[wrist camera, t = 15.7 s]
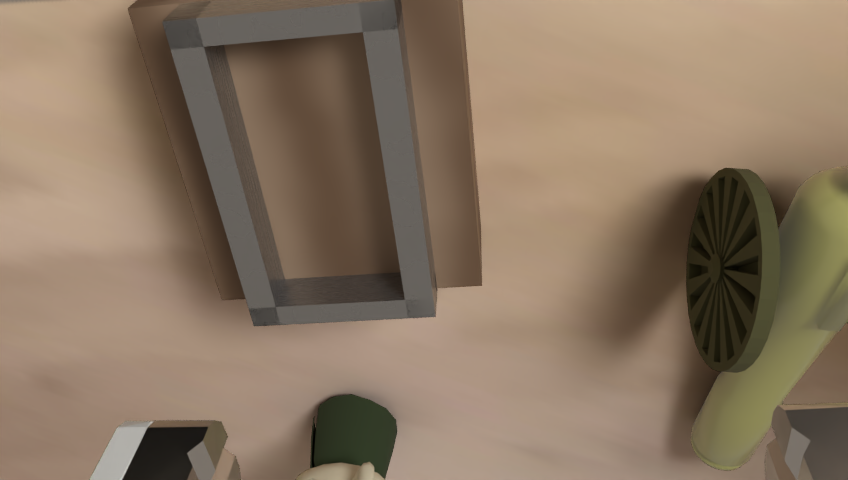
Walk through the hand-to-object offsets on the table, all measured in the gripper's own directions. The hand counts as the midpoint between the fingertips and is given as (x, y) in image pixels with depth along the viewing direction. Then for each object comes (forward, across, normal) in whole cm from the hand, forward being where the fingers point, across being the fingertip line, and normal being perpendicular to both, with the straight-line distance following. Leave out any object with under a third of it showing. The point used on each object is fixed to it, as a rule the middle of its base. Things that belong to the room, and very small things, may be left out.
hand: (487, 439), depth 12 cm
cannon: (+33, -15, +24) cm, 44 cm away
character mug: (+32, +13, +34) cm, 48 cm away
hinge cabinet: (+32, +10, +9) cm, 35 cm away
